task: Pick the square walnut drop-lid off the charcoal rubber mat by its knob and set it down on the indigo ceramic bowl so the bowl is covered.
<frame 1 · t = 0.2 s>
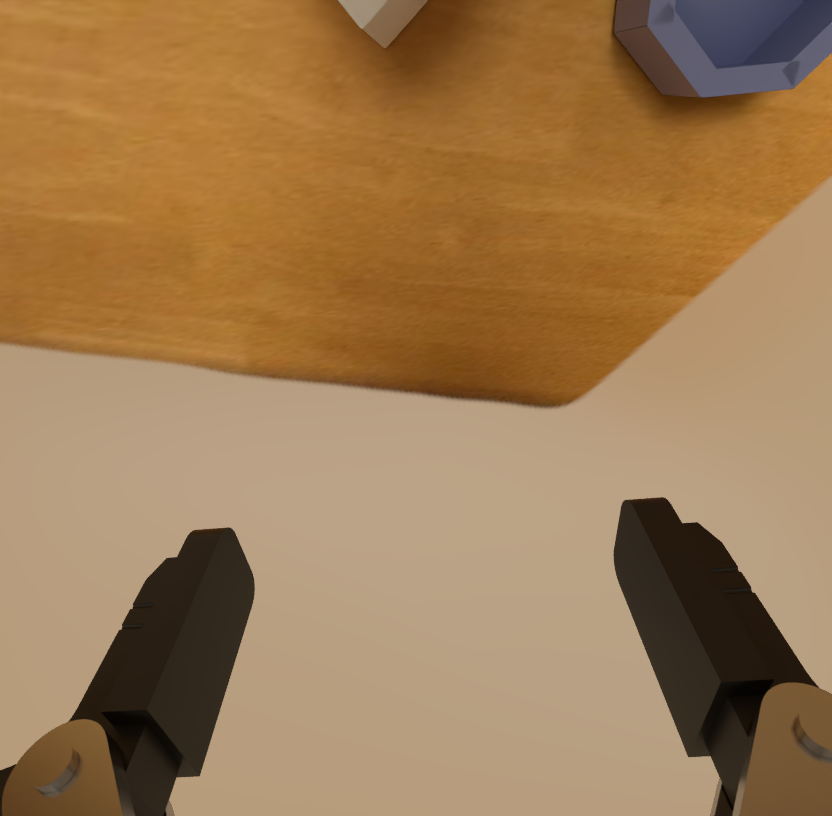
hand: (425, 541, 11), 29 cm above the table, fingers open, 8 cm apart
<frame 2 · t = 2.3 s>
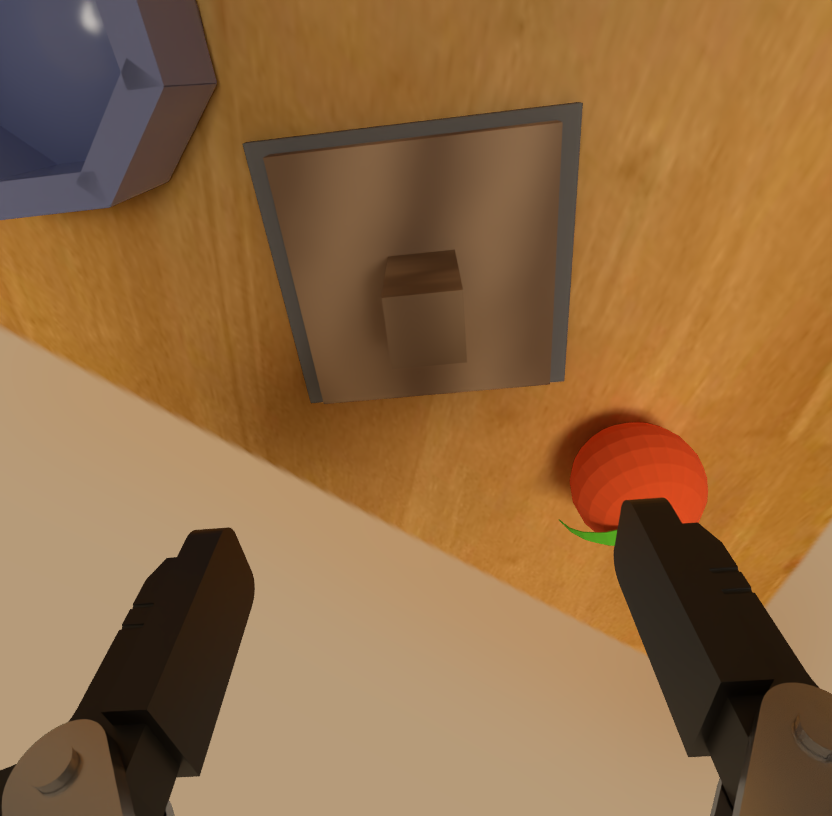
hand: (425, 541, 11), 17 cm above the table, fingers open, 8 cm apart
lid: (424, 277, 24), point 1 cm above the table, touching mat
clementine: (605, 446, 31), on the table
bowl: (61, 30, 19), on the table
mat: (424, 273, 25), on the table
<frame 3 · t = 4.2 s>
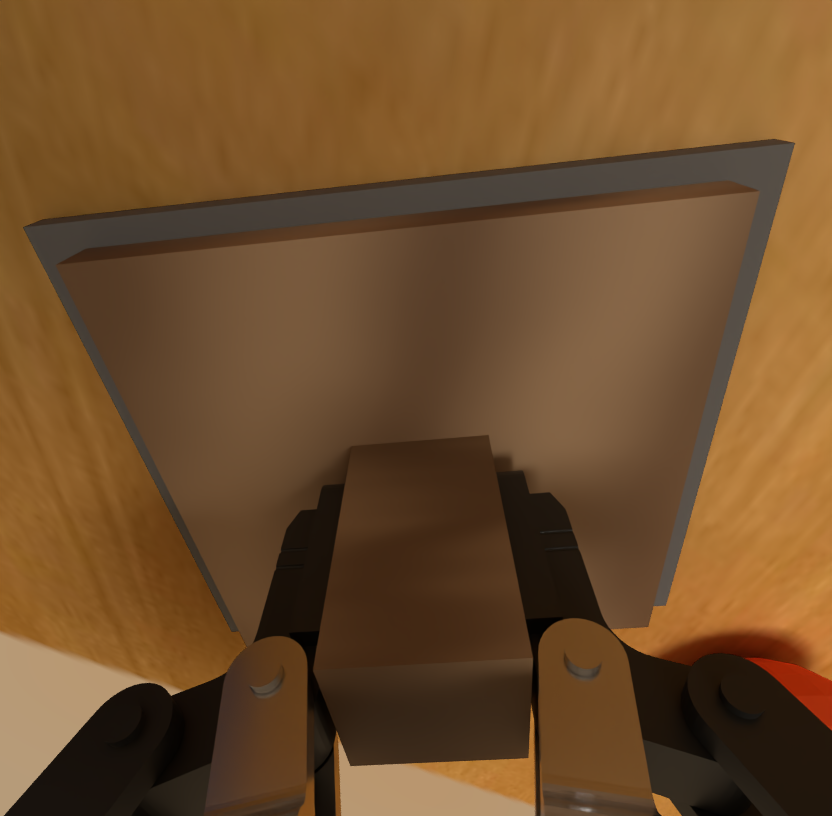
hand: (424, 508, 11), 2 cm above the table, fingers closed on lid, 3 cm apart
lid: (425, 463, 13), point 1 cm above the table, touching gripper, mat
clementine: (711, 669, 19), on the table
mat: (424, 449, 13), on the table
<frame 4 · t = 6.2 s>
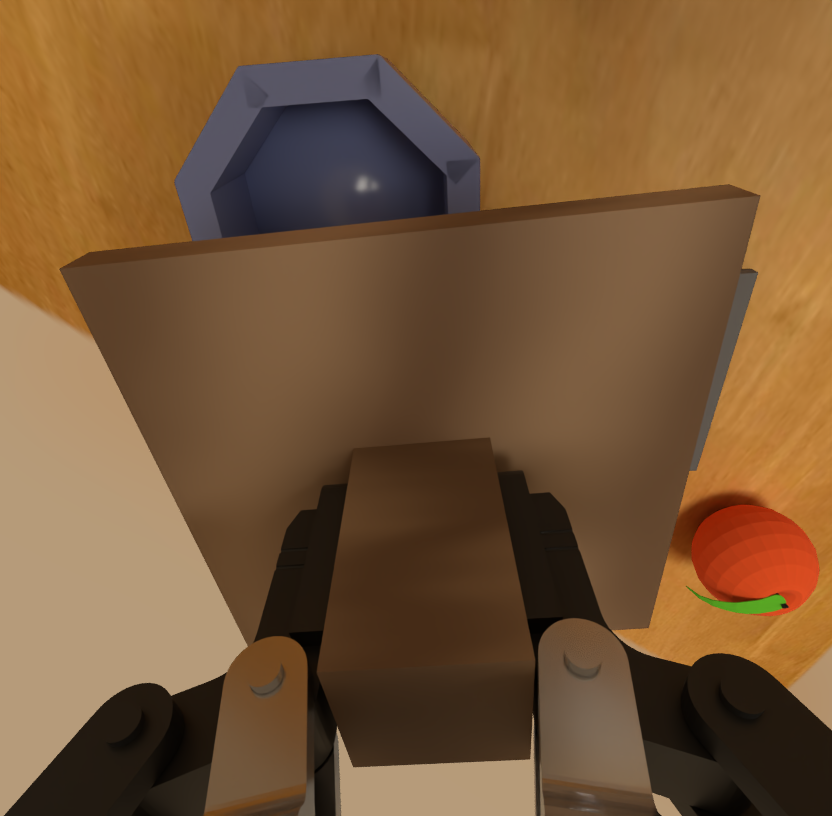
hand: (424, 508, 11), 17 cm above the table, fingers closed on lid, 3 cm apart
lid: (426, 465, 13), point 16 cm above the table, touching gripper
clementine: (715, 519, 36), on the table
bowl: (351, 204, 24), on the table
mat: (596, 385, 30), on the table
when the fingers open (8 cm above the table, at t = 8.4 s): lid drops 1 cm, resting on bowl.
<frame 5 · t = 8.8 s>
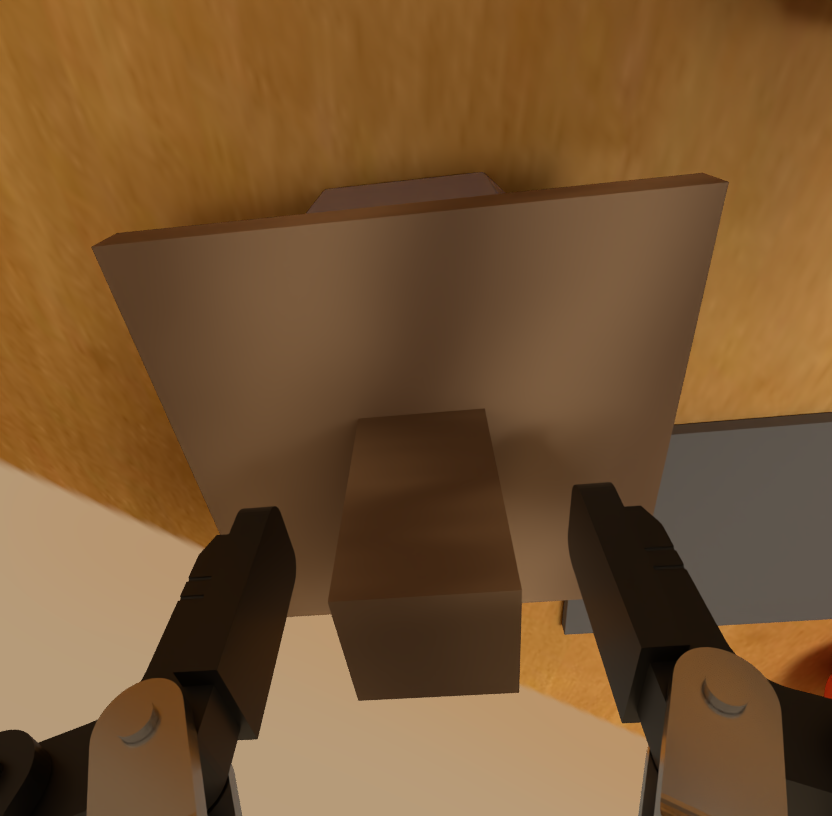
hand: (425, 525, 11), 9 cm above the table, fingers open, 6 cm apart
lid: (425, 438, 14), point 5 cm above the table, touching bowl
bowl: (421, 345, 18), on the table
mat: (722, 532, 23), on the table
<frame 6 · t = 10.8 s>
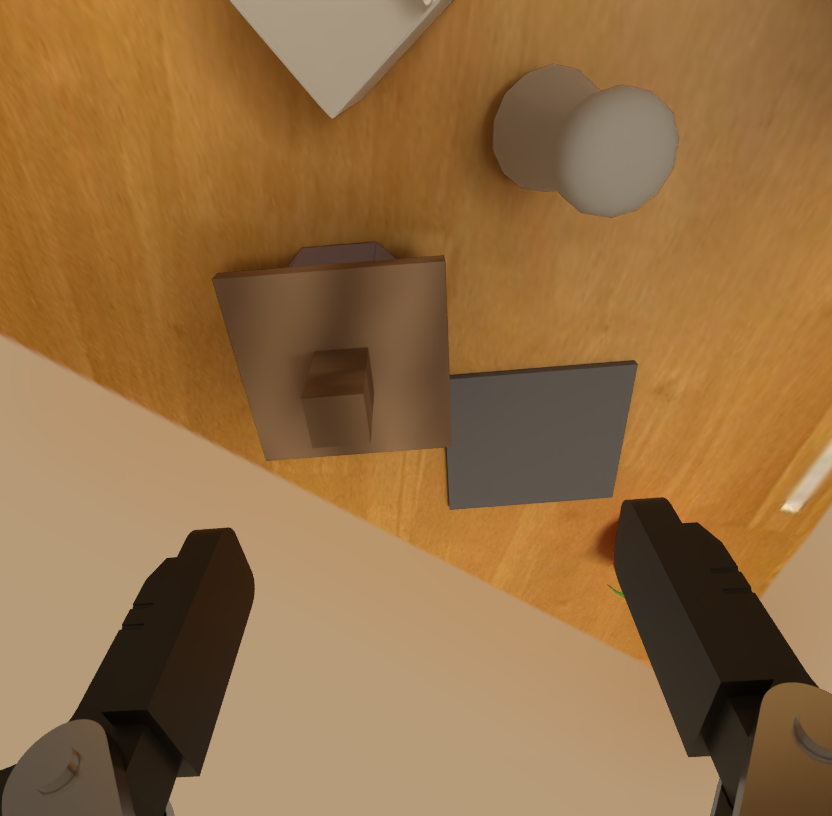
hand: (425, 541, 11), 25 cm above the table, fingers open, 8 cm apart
lid: (346, 364, 30), point 5 cm above the table, touching bowl
bowl: (352, 325, 35), on the table
mat: (533, 439, 40), on the table
salt shaker: (536, 127, 29), on the table
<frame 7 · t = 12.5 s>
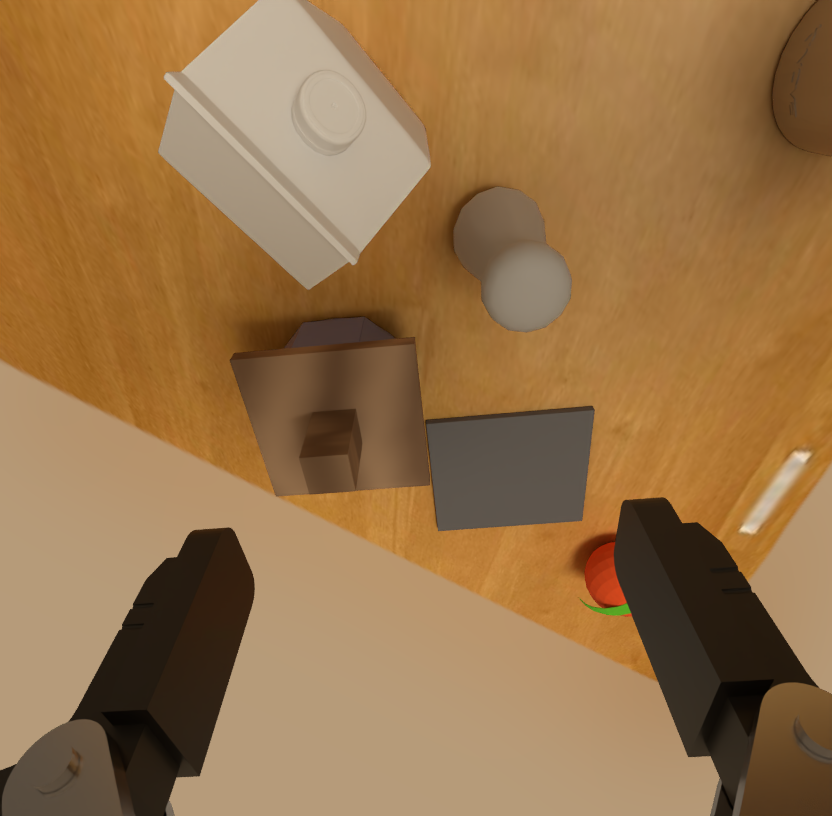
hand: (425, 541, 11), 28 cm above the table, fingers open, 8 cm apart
lid: (340, 419, 36), point 5 cm above the table, touching bowl
clementine: (604, 550, 53), on the table
bowl: (347, 380, 41), on the table
mat: (508, 471, 46), on the table
milk carton: (344, 124, 31), on the table
salt shaker: (493, 225, 34), on the table
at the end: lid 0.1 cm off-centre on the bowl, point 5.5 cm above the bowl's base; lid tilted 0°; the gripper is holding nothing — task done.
